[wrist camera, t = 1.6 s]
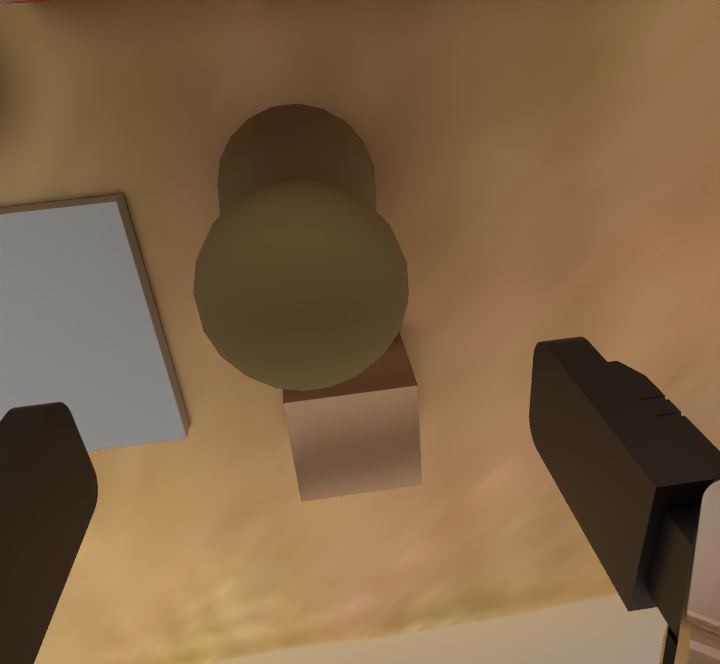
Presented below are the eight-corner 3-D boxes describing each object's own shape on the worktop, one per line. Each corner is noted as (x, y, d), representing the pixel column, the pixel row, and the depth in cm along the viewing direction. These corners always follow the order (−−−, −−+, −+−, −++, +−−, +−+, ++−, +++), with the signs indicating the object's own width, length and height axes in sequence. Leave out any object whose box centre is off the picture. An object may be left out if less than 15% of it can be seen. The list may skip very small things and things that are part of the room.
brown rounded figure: (370, 261, 24) (424, 426, 15) (222, 259, 23) (177, 432, 14) (381, 107, 21) (456, 189, 12) (212, 100, 21) (146, 180, 11)
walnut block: (284, 336, 26) (283, 403, 21) (395, 322, 26) (417, 385, 22) (299, 425, 28) (301, 501, 24) (401, 411, 28) (421, 484, 24)
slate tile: (-183, 227, 21) (-203, 237, 20) (123, 193, 22) (116, 201, 21) (-52, 456, 27) (-63, 471, 26) (190, 424, 27) (187, 437, 26)
